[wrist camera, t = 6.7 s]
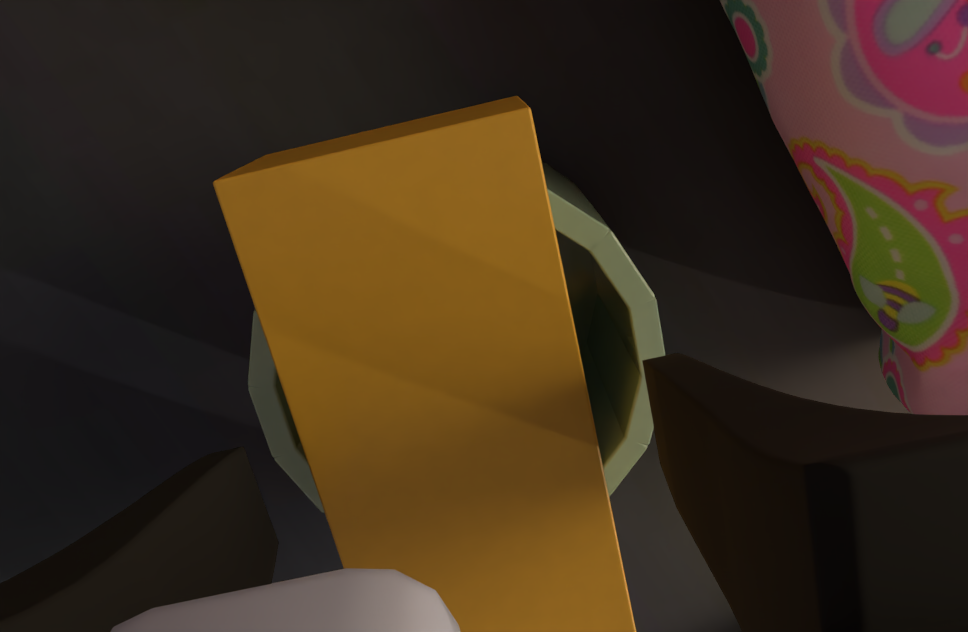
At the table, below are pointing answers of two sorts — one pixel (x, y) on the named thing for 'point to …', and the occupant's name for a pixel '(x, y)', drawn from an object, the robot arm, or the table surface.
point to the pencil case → (881, 164)
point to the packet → (436, 364)
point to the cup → (599, 328)
